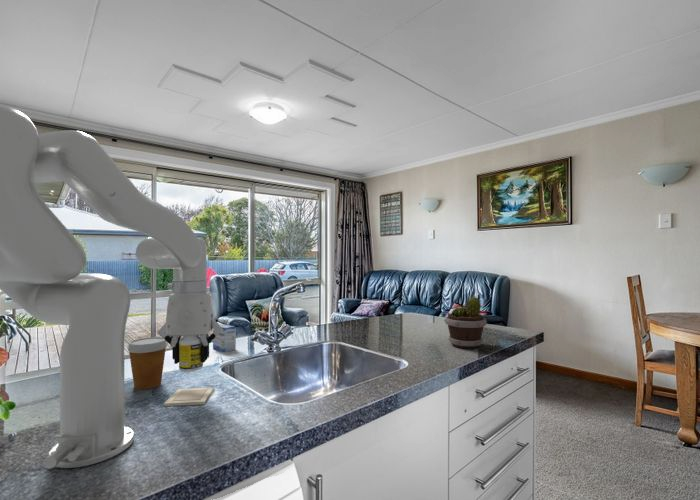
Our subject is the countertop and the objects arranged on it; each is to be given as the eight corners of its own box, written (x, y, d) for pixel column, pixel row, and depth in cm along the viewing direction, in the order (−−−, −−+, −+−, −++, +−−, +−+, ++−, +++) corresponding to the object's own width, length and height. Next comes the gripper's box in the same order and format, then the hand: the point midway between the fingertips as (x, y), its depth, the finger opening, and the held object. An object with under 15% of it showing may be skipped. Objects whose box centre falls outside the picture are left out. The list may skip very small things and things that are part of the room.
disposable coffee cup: (150, 393, 91) (150, 345, 91) (118, 390, 93) (118, 344, 93) (175, 380, 100) (175, 337, 100) (145, 378, 102) (145, 335, 102)
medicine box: (212, 349, 133) (212, 325, 133) (222, 346, 137) (222, 323, 137) (225, 352, 129) (225, 328, 129) (236, 349, 132) (236, 325, 132)
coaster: (204, 404, 84) (204, 401, 84) (163, 406, 83) (163, 403, 83) (214, 389, 93) (214, 387, 93) (177, 391, 92) (177, 388, 92)
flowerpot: (437, 345, 136) (437, 292, 136) (458, 339, 146) (458, 289, 146) (473, 353, 125) (472, 295, 125) (493, 345, 136) (493, 292, 136)
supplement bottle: (191, 373, 85) (191, 332, 85) (174, 371, 87) (173, 330, 87) (208, 366, 90) (207, 327, 90) (191, 364, 92) (190, 326, 92)
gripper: (146, 290, 84) (147, 368, 84) (222, 288, 86) (223, 364, 86) (159, 287, 91) (160, 358, 91) (229, 285, 93) (230, 355, 93)
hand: (191, 360), depth 89 cm, fingers closed on supplement bottle, 5 cm apart
